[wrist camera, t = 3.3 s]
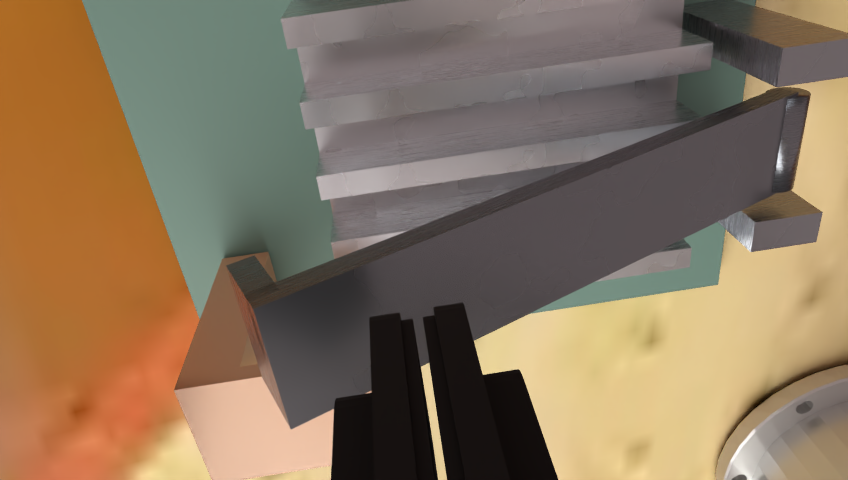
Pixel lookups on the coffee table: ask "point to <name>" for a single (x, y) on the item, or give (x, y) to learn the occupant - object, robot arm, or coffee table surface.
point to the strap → (515, 248)
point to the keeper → (241, 397)
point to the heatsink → (524, 100)
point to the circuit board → (280, 140)
